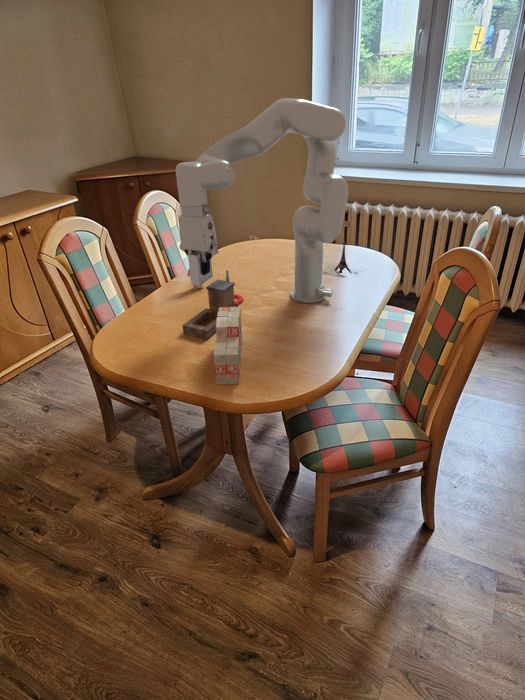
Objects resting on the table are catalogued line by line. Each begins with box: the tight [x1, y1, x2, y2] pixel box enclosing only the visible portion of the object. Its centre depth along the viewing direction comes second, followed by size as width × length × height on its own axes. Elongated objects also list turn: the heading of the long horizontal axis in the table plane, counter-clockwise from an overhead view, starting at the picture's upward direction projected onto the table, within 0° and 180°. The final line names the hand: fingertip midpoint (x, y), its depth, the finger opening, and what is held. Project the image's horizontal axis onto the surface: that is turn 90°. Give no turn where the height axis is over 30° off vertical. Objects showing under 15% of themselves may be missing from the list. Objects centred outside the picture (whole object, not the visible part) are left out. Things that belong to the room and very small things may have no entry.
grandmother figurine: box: [186, 269, 205, 291], centre depth 170 cm, size 8×4×13 cm, turn 117°
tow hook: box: [225, 270, 244, 307], centre depth 159 cm, size 8×13×9 cm
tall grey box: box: [187, 251, 214, 285], centre depth 135 cm, size 3×7×9 cm, turn 152°
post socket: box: [182, 278, 236, 341], centre depth 146 cm, size 9×19×11 cm, turn 152°
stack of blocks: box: [213, 306, 243, 385], centre depth 125 cm, size 21×6×12 cm, turn 0°
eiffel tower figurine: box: [334, 240, 351, 273], centre depth 180 cm, size 15×10×13 cm
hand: (201, 271), depth 136 cm, fingers closed on tall grey box, 3 cm apart
